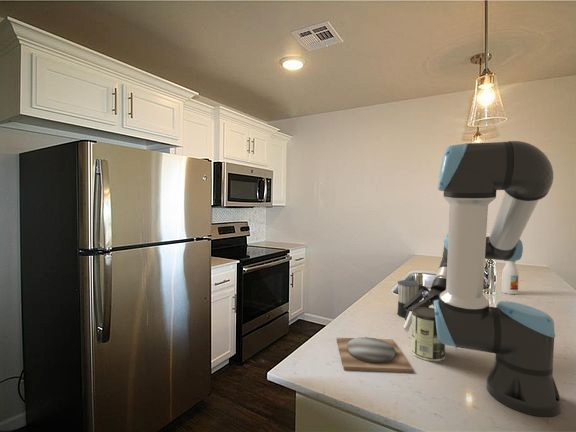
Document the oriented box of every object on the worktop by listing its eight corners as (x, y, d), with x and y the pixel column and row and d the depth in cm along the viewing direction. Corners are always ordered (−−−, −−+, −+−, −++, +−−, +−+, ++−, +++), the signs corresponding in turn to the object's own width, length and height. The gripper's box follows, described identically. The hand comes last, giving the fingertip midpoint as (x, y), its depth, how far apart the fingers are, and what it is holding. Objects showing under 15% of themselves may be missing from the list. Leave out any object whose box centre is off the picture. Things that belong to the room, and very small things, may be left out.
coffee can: (440, 348, 106) (441, 307, 106) (449, 363, 96) (450, 318, 96) (408, 345, 108) (409, 305, 108) (414, 359, 98) (415, 315, 98)
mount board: (412, 372, 91) (412, 364, 91) (343, 369, 92) (343, 361, 92) (392, 342, 111) (393, 335, 111) (336, 340, 112) (336, 333, 112)
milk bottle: (504, 294, 174) (505, 258, 173) (499, 290, 181) (500, 256, 180) (520, 295, 171) (521, 259, 171) (514, 291, 179) (515, 257, 178)
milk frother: (405, 320, 133) (405, 285, 132) (384, 308, 148) (385, 277, 147) (433, 317, 136) (434, 283, 136) (410, 305, 152) (411, 275, 151)
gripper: (487, 297, 103) (470, 355, 93) (414, 282, 121) (393, 330, 112) (483, 283, 99) (464, 343, 90) (408, 270, 118) (386, 319, 108)
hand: (425, 336), depth 101 cm, fingers open, 13 cm apart
